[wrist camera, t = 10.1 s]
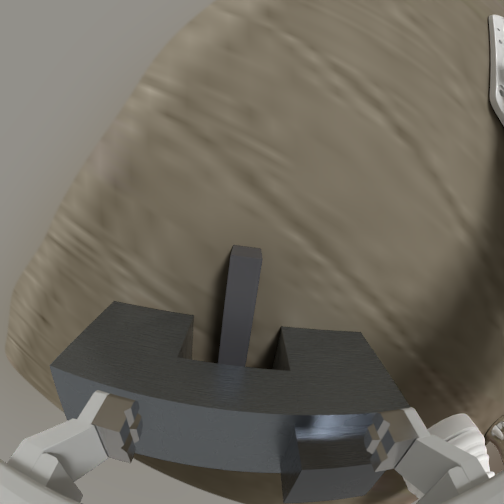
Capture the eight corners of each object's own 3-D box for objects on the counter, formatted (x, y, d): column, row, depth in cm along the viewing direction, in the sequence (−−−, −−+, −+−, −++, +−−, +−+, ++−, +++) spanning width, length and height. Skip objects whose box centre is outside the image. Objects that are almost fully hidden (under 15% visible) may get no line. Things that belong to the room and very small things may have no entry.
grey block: (114, 301, 22) (22, 394, 9) (360, 332, 23) (431, 441, 10) (118, 358, 23) (54, 459, 11) (341, 386, 24) (385, 496, 12)
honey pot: (381, 474, 29) (414, 564, 12) (430, 416, 26) (491, 515, 9) (437, 464, 30) (474, 535, 12) (482, 410, 27) (537, 481, 10)
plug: (216, 242, 21) (208, 256, 17) (277, 250, 21) (283, 266, 17) (201, 418, 25) (195, 446, 21) (245, 423, 25) (245, 452, 21)
